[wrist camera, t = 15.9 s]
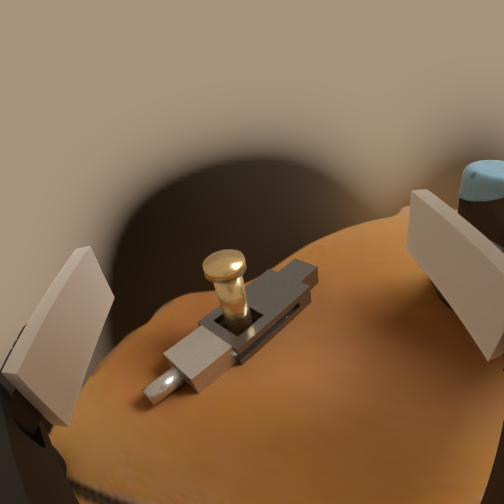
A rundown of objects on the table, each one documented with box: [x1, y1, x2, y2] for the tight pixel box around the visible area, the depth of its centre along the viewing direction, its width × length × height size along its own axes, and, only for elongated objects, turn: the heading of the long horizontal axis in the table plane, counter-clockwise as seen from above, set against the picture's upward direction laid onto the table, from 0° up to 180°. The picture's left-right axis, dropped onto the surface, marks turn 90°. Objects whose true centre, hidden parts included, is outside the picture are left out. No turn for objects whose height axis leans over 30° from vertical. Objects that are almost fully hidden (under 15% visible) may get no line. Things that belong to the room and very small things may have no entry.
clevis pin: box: [203, 249, 253, 337], centre depth 45 cm, size 6×6×14 cm
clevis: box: [142, 259, 318, 405], centre depth 48 cm, size 35×9×4 cm, turn 136°
